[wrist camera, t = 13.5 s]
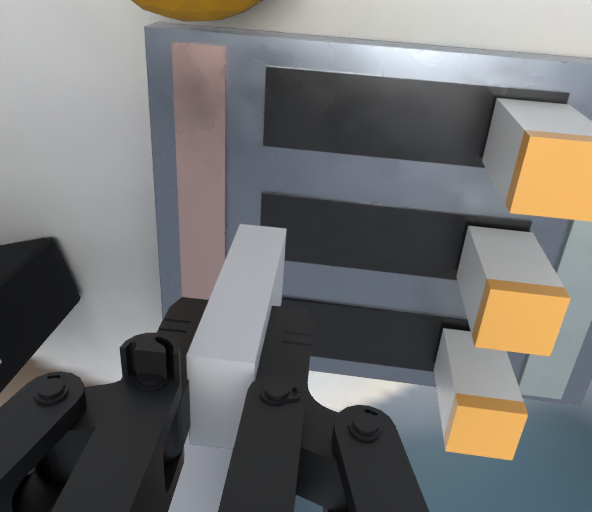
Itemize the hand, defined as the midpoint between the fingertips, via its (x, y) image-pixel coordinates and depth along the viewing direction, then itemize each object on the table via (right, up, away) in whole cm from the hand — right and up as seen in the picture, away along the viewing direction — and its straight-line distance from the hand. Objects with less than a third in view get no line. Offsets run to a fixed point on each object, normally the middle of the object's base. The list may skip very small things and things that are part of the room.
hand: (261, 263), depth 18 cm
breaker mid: (+11, 0, +9) cm, 14 cm away
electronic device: (-17, -1, +16) cm, 24 cm away
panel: (+6, +2, +11) cm, 13 cm away
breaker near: (+11, +6, +6) cm, 14 cm away
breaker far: (+10, -5, +12) cm, 16 cm away
